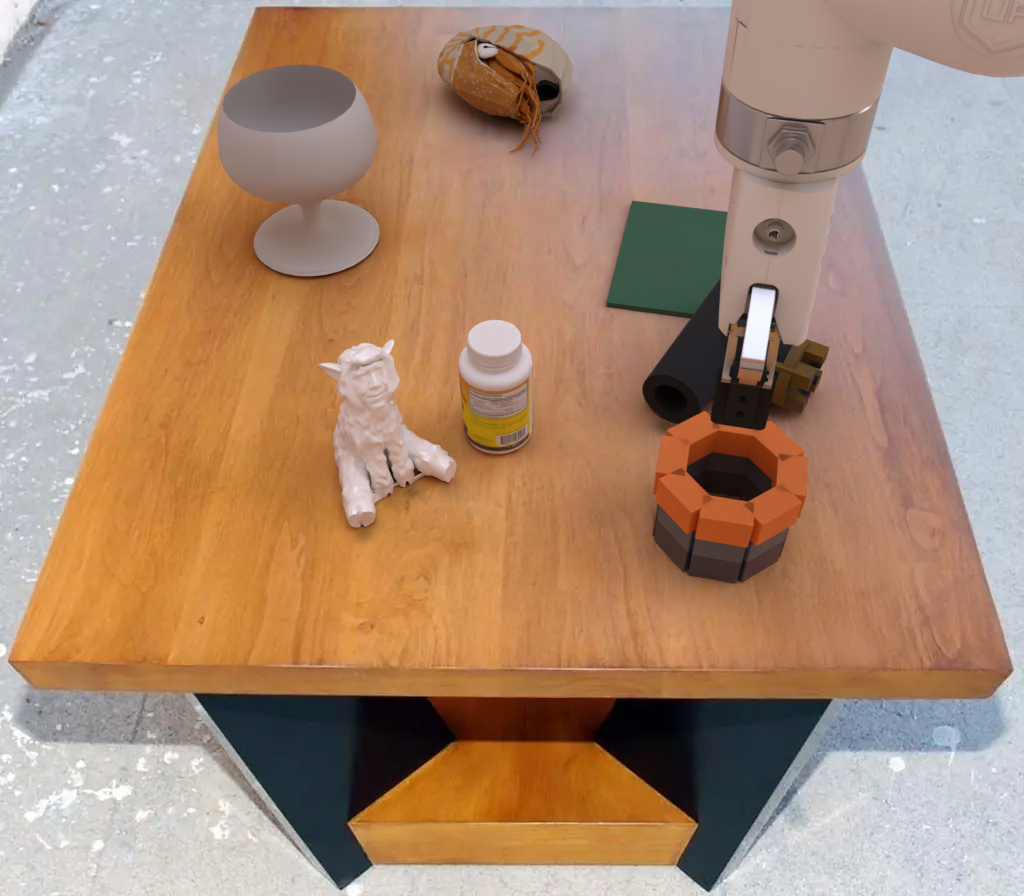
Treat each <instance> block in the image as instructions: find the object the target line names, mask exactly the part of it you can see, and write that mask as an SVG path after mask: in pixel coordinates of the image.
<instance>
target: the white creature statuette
mask: <svg viewBox="0 0 1024 896" xmlns="http://www.w3.org/2000/svg"><path fill="white" fill-rule="evenodd" d="M394 345H395V340H394V338H392V339H389V340H388V341H386V342H385V343H384V344H383V346H382V347H380V346H377V345H375V344H374V343H370V342H361V343H359V344H358V345H352V346H351V348H346V349H344V351H342V353H341V354H340V355H338V357H337V360H336V363H335V362H321V363H318V364H317V367H318V368H319V369H320V370H321V371H323V373H325V374H326V375H327V376H328V377H329V378H331V379H332V380H333V381H336V393H337V394H338V395H339V397H340V398H341V399H343V400H342V402H341V403H340V405H339V408H338V412H339V413H338V414H337V416H336V419H337V423H336V425H335V429H334V431H333V432H332V440H333V443H332V447H333V450H334V451H333V457H334V460H335V466H336V467H337V468H338V471H337V472H338V482H339V485H340V487H341V491H342V492H341V493H340V496H341V497H342V508H343V509H344V513H345V517H346V520H347V523H348V524H349V526H350V527H352V528H355V529H358V528H361V527H362V526H363V527H365V528H366V527H368V526H369V525H371V524H373V523H374V522H375V520H376V517H377V509H376V506H375V504H377V503H378V502H380V501H381V500H382V499H386V498H387V497H388V495H389V494H390V495H393V494H394V488H395V487H397V486H400V487H401V488H407V487H406V486H407V482H408V484H409V485H410V486H411V485H413V483H414V482H415V481H417V480H419V479H421V478H423V477H425V476H428V477H429V476H432V477H434V478H437V479H438V480H440V481H441V482H442V481H443V482H446V483H448V484H450V483H451V479H454V478H455V475H456V472H457V468H458V467H457V466H458V465H457V461H456V460H455V458H453V457H452V456H450V455H449V453H448V451H447V450H445V449H443V448H442V446H441V445H440V444H434V443H432V442H431V441H429V440H427V439H426V438H422V437H419V436H417V435H416V433H415V432H414V431H412V430H410V429H409V428H408V425H407V424H405V423H404V422H403V419H404V418H403V417H404V416H403V414H402V412H400V411H401V410H400V409H399V406H398V404H396V403H395V400H394V393H395V391H396V390H397V389H398V387H399V385H400V383H401V378H400V376H399V374H398V372H397V370H396V368H395V367H396V366H395V359H394V356H393V355H392V354H391V353H392V349H393V347H394ZM390 470H391V472H392V474H391V472H390ZM415 470H417V471H418V472H420V473H419V474H417V475H415ZM392 476H393V477H392ZM393 478H394V479H393ZM394 480H395V482H394Z"/></svg>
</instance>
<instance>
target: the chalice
mask: <svg viewBox="0 0 1024 896" xmlns="http://www.w3.org/2000/svg"><path fill="white" fill-rule="evenodd" d="M216 122H217V123H216V137H217V148H218V156H219V160H220V162H221V165H222V167H223V169H224V171H225V173H226V174H227V176H228V177H229V178H230V180H231V181H233V183H234V184H236V186H237V187H239V188H240V189H242V191H243V190H244V192H246V193H248V194H249V195H251V196H253V197H254V198H258V199H261V200H264V201H268V202H273V203H278V204H282V205H289V206H287V207H283V208H282V209H280V210H278V211H276V212H274V213H273V214H271V215H270V216H269V217H268V218H267V219H266V220H264V221H263V222H262V224H260V226H259V227H258V229H257V230H256V231H255V235H254V238H253V249H254V252H255V254H256V257H257V258H258V259H259V260H260V261H261V262H262V264H264V265H265V266H266V267H268V268H270V269H271V270H274V271H276V272H279V273H282V274H285V275H291V276H295V277H317V276H325V275H331V274H333V273H338V272H341V271H344V270H347V269H348V268H351V267H353V266H356V265H357V264H358V263H360V262H361V261H363V260H364V259H366V258H367V257H368V256H369V255H370V254H371V253H372V252H373V251H374V249H375V248H376V246H377V244H378V243H379V238H380V234H381V232H380V225H379V224H378V222H377V219H376V218H375V216H373V215H372V214H371V212H369V211H368V210H366V209H364V208H363V207H361V206H359V205H357V204H354V203H351V202H348V201H344V200H337V199H330V198H334V197H336V196H338V195H340V194H342V193H343V192H345V191H347V190H348V189H351V188H352V187H354V186H355V185H356V184H357V183H358V182H360V180H362V179H363V178H364V176H365V175H366V174H367V172H368V171H369V169H370V168H371V166H372V164H373V163H374V160H375V157H376V154H377V149H378V133H377V129H376V125H375V122H374V119H373V114H372V112H371V110H370V107H369V105H368V102H367V101H366V98H365V96H364V95H363V94H362V92H361V91H360V89H359V88H358V86H357V85H356V84H355V83H354V82H353V80H352V79H350V77H349V76H347V75H345V74H343V73H342V72H340V71H338V70H336V69H333V68H330V67H326V66H321V65H315V64H287V65H279V66H274V67H273V66H272V67H270V68H266V69H262V70H258V71H257V72H254V73H251V74H249V75H247V76H245V77H243V78H242V79H240V80H238V81H237V82H236V83H235V84H233V85H232V86H231V87H230V88H229V89H228V90H227V92H226V93H225V94H224V96H223V99H222V101H221V105H220V108H219V111H218V115H217V121H216Z"/></svg>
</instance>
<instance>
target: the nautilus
mask: <svg viewBox="0 0 1024 896" xmlns="http://www.w3.org/2000/svg"><path fill="white" fill-rule="evenodd" d="M436 64H437V74H438V76H439V77H440V78H441V80H442V81H443V82H444V84H446V85H448V86H449V87H451V88H452V89H453V90H454V91H455V92H456V93H457V94H458V96H460V98H461V99H463V100H464V101H465V102H466V103H468V104H469V105H470V106H471V107H474V109H477V110H480V111H481V112H483V113H485V114H487V115H490V116H500V117H510V118H511V119H515V120H518V121H519V124H524V128H523V129H524V130H523V133H522V137H521V140H520V142H519V144H518V145H517V146H516V148H514V149H513V150H511V151H509V152H508V153H510V154H511V153H513V152H515V151H517V150H519V149H520V148H521V147H523V145H527V144H529V142H530V140H532V141H533V142H534V144H535V147H534V150H533V153H532V154H531V155H530V157H531V158H532V157H533V156H534V155H535V153H536V152H537V151H538V152H539V151H540V147H539V145H538V144H539V143H540V144H542V141H541V139H540V130H542V128H541V125H540V123H541V120H542V117H544V118H545V117H546V118H547V117H548V118H553V117H554V116H555V114H556V113H557V112H558V110H559V108H560V107H561V106H562V104H563V100H564V96H565V93H566V90H567V88H568V86H569V85H570V84H571V82H572V79H573V73H574V65H573V63H572V61H571V59H570V57H569V54H568V53H567V52H566V51H565V50H564V49H563V47H562V46H561V45H560V44H559V43H558V41H556V40H554V39H553V38H552V37H551V36H550V35H549V34H547V33H545V32H543V31H542V30H540V29H537V28H532V27H528V26H525V25H521V24H508V25H507V24H506V25H505V24H504V25H503V24H501V25H499V24H498V25H497V24H496V25H486V26H480V27H476V28H472V29H470V30H469V29H468V30H464V31H460V32H458V33H456V35H454V36H453V37H452V38H451V39H449V40H448V41H446V43H445V44H444V46H443V48H442V49H441V51H440V53H439V55H438V58H437V63H436ZM539 129H540V130H539ZM528 132H529V135H528V136H527V134H528ZM534 135H535V136H536V139H535V138H534Z"/></svg>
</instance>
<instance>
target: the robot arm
mask: <svg viewBox="0 0 1024 896" xmlns="http://www.w3.org/2000/svg"><path fill="white" fill-rule="evenodd" d="M894 48H895V49H898V50H901V51H904V52H906V53H910V54H912V55H915V56H917V57H920V58H923V59H925V60H928V61H931V62H933V63H936V64H939V65H942V66H944V67H948V68H950V69H954V70H957V71H961V72H964V73H968V74H971V75H978V76H982V77H990V78H1004V79H1005V78H1021V77H1024V0H731V7H730V14H729V22H728V29H727V37H726V44H725V52H724V59H723V64H722V65H723V66H722V75H721V81H720V87H719V96H718V103H717V109H716V110H717V111H716V119H715V128H714V134H713V140H714V145H715V147H716V149H717V152H718V153H719V154H720V156H721V157H722V158H723V159H724V160H725V161H726V162H727V163H729V164H730V165H732V166H733V170H732V177H731V184H730V189H729V190H730V191H729V197H728V198H729V199H728V207H727V212H728V213H727V221H726V229H725V238H724V248H723V260H722V273H721V288H720V304H719V325H718V327H719V329H720V330H721V332H722V333H723V334H724V335H726V336H727V334H728V332H729V337H728V343H727V349H726V355H725V361H724V367H723V368H719V370H718V376H717V382H716V388H715V391H714V393H713V400H712V406H711V413H710V416H711V417H710V420H711V421H712V422H713V423H715V424H721V425H727V426H733V427H740V428H746V429H753V430H763V429H765V427H766V423H767V422H768V419H769V415H770V409H771V406H772V403H771V401H772V397H773V393H774V388H775V384H776V377H777V376H774V371H775V365H776V359H777V354H778V348H779V342H780V339H782V341H783V343H784V344H791V345H794V346H799V345H800V344H802V343H803V342H804V341H805V340H806V339H808V333H809V329H810V323H811V319H812V318H811V317H812V313H813V309H814V303H815V299H816V296H817V290H818V286H819V281H820V277H821V274H822V269H823V268H822V267H823V263H824V259H825V254H826V251H827V246H828V241H829V236H830V232H831V227H832V223H833V222H832V221H833V217H834V212H835V206H836V202H837V195H838V190H839V183H840V179H841V178H840V177H843V176H844V175H847V174H848V173H851V172H852V171H854V170H855V169H856V168H857V167H858V166H859V165H860V164H861V163H862V162H863V160H864V158H865V156H866V153H867V150H868V146H869V141H870V137H871V133H872V130H873V126H874V122H875V118H876V114H877V110H878V107H879V103H880V99H881V96H882V91H883V88H884V85H885V80H886V77H887V73H888V69H889V65H890V61H891V58H892V54H893V50H894ZM738 319H745V320H747V322H746V327H745V326H738V325H737V324H738ZM773 322H775V326H774V329H771V328H770V326H771V323H773ZM738 337H743V338H744V341H743V347H742V352H741V357H740V361H737V360H736V361H735V363H734V359H735V353H736V347H737V341H738ZM768 341H769V344H768ZM767 345H768V350H767ZM766 352H767V356H766ZM765 358H766V362H765ZM733 365H734V366H733Z"/></svg>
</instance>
